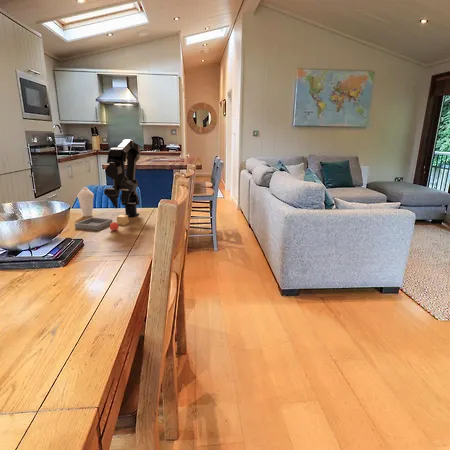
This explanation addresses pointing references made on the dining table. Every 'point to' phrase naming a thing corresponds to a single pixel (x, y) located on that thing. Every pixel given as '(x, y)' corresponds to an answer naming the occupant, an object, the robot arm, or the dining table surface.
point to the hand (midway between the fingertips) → (121, 206)
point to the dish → (93, 224)
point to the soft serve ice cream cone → (86, 201)
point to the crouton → (122, 219)
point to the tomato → (114, 226)
